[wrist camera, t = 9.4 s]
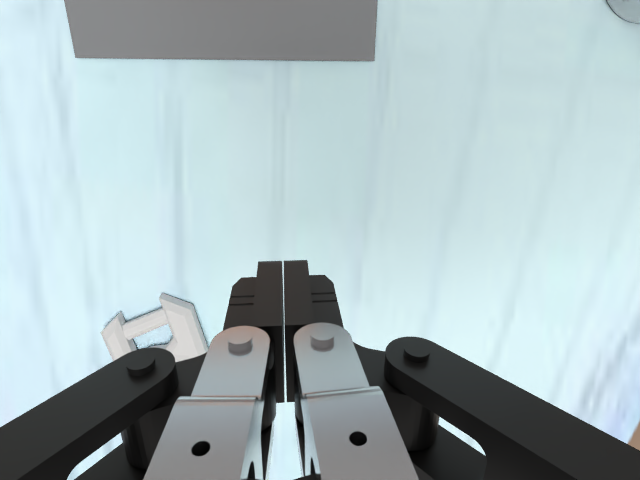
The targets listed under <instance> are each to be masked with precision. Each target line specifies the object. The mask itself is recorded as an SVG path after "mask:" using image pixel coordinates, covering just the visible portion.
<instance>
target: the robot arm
mask: <svg viewBox="0 0 640 480" xmlns="http://www.w3.org/2000/svg"><path fill="white" fill-rule="evenodd" d="M607 1H608V4H609V5H610V7H611V8H612V10H613V11H614V12H615V13H616V14H617V15H618V16H620V17H621V18H622V19H624V20H627V21H629V22H632V23H639V24H640V0H607ZM284 310H285V353H286V386H287V402H295V429H296V437H297V444H298V452H299V460H300V467H301V475H302V477H301V478H298V479H294V480H640V451H639V450H637V449H635V448H634V447H631V446H630V445H628V444H626V443H624V442H622V441H620V440H618V439H616V438H614V437H613V436H611V435H609V434H607V433H605V432H603V431H601V430H599V429H597V428H595V427H594V426H592V425H590V424H588V423H586V422H584V421H582V420H580V419H578V418H576V417H575V416H573V415H571V414H569V413H567V412H565V411H563V410H561V409H559V408H557V407H556V406H554V405H552V404H550V403H548V402H546V401H544V400H542V399H540V398H538V397H536V396H535V395H533V394H531V393H529V392H527V391H525V390H523V389H521V388H519V387H517V386H516V385H514V384H512V383H510V382H508V381H506V380H504V379H502V378H500V377H498V376H497V375H495V374H493V373H491V372H489V371H487V370H485V369H483V368H481V367H479V366H477V365H476V364H474V363H472V362H470V361H468V360H466V359H464V358H462V357H460V356H458V355H457V354H455V353H453V352H451V351H449V350H447V349H445V348H443V347H441V346H439V345H438V344H436V343H434V342H432V341H429V340H427V339H423V338H419V337H402V338H398V339H395V340H393V341H392V342H390V343H389V344H388V346H387V348H386V352H385V351H379V350H373V349H368V348H365V347H362V346H360V345H357V344H356V343H354V342H353V341H352V338H351V336H350V334H349V333H348V331H346V330H345V329H344V328H343V323H342V319H341V315H340V310H339V306H338V302H337V297H336V294H335V289H334V284H333V282H332V281H331V280H329V279H328V278H327V277H326V276H325V275H309V271H308V263H307V260H295V261H284ZM282 402H284V311H283V278H282V261H263V262H258V269H257V277H249V278H241V279H240V280H239V281H238V282H236V283H235V284H234V285H233V287H232V291H231V296H230V300H229V306H228V309H227V314H226V319H225V323H224V328H223V331H222V332H220V333H219V334H217V335H216V336H215V337H214V338H213V340H212V341H211V344H210V346H209V349H208V352H206V353H204V354H202V355H200V356H197V357H194V358H190V359H186V360H182V361H179V362H175V357H174V355H173V354H172V353H171V352H170V351H168V350H166V349H162V348H156V347H150V348H142V349H138V350H135V351H132V352H129V353H127V354H125V355H123V356H121V357H120V358H118V359H116V360H115V361H113V362H111V363H109V364H108V365H106V366H104V367H103V368H101V369H99V370H98V371H96V372H94V373H92V374H91V375H89V376H87V377H86V378H84V379H82V380H80V381H79V382H77V383H75V384H74V385H72V386H70V387H68V388H67V389H65V390H63V391H62V392H60V393H58V394H57V395H55V396H53V397H51V398H50V399H48V400H46V401H45V402H43V403H41V404H39V405H38V406H36V407H34V408H33V409H31V410H29V411H27V412H26V413H24V414H22V415H21V416H19V417H17V418H16V419H14V420H12V421H10V422H9V423H7V424H5V425H4V426H2V427H0V480H67V478H68V476H69V474H70V473H71V471H72V470H73V469H74V467H75V466H76V465H77V464H79V463H80V462H81V461H82V460H84V459H85V458H86V457H88V456H89V455H90V454H92V453H93V452H95V451H96V450H97V449H99V448H100V447H101V446H103V445H104V444H105V443H107V442H108V441H109V440H111V439H112V438H114V437H115V436H116V435H118V434H119V433H120V432H121V436H122V440H123V443H122V444H121V445H119V446H118V447H117V448H115V449H114V450H113V451H111V452H110V453H109V454H107V455H106V456H105V457H103V458H102V459H101V460H99V461H98V462H97V463H96V464H94V465H93V466H92V467H90V468H89V469H88V470H86V471H85V472H84V473H82V474H81V475H80V476H78V477H77V478H76V479H74V480H268V478H269V469H270V460H271V452H272V443H273V434H274V418H275V416H276V403H282ZM439 416H440V417H441V418H443V419H444V420H446V421H447V422H449V423H450V424H452V425H453V426H455V427H456V428H458V429H459V430H461V431H463V432H464V433H466V434H467V435H469V436H470V437H472V438H473V439H474V440H476V441H477V442H478V443H479V445H480V446H481V447H482V449H483V450H484V452H485V454H486V456H485V455H483V454H482V453H480V452H479V451H477V450H476V449H474V448H473V447H471V446H470V445H468V444H467V443H465V442H464V441H462V440H461V439H459V438H458V437H456V436H455V435H453V434H452V433H450V432H449V431H447V430H446V429H444V428H443V427H441V426H440V425H438V423H439Z"/></svg>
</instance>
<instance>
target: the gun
mask: <svg viewBox="0 0 640 480" xmlns="http://www.w3.org/2000/svg"><path fill="white" fill-rule="evenodd" d="M159 300H160V302H161V305H162V308H160V309H158V310H155V311H153V312H150V313H148V314H145V315H143V316H140V317H138V318H135V319H133V320H130V321H128V322H125V320H124V317H123V315H122V312H120V313H119V314H118V315H117V316H116V317H115V318H114V319H113V320H112V321H111V322H110V323H109V324H108V325H107V326H106V327H105V328H104V329H103V330H102V332H101V334H102V337H103V339H104V341H105V344H106V346H107V348H108V350H109V353H110V355H111V357H112V359H113V361H115V360H116V359H118V358H120V357H121V356H123V355H125V354H127V353H129V352H132V351H135V350H137V349H136V346H135V344H134V341H133V339H132V338H135V337H137V336H140V335H142V334H144V333H147V332H149V331H152V330H154V329H156V328H159V327H161V326H164V325H166V324H169V327H170V329H171V332H172V335H173V337H172V339H171V340H170V342H169V343H168V344H165V345H157V346H151V347H156V348H162V349H166V350H168V351H170V352H171V353H172V354H173V355H174V357H175V362H179V361H182V360H186V359H190V358H194V357H197V356H200V355H202V354H204V353H206V352H208V347H207V344H206V341H205V338H204V335H203V332H202V329H201V326H200V323H199V321H198V318H197V315H196V312H195V309H194V306H193V304H190V303H188V302H185V301H182V300H180V299H177V298H175V297H172V296H169V295H167V294H164V293H162V294H161V295H160V297H159ZM149 348H150V347H149Z"/></svg>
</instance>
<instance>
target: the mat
mask: <svg viewBox="0 0 640 480" xmlns="http://www.w3.org/2000/svg"><path fill="white" fill-rule="evenodd" d="M64 1H65V7H66V12H67V17H68V22H69V27H70V32H71V37H72V42H73V47H74V52H75V58H134V59H228V60H321V61H374V55H375V37H376V18H377V0H64Z"/></svg>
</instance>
